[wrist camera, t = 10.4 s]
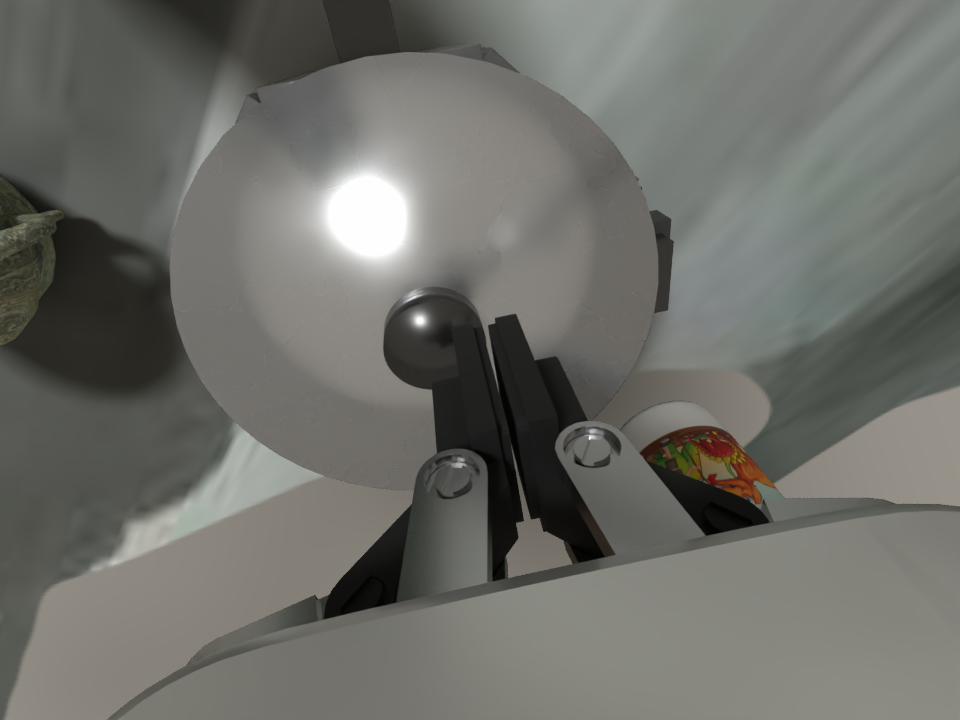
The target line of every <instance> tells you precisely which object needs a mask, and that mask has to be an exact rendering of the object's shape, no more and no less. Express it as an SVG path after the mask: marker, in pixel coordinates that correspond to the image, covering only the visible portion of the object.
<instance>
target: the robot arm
mask: <svg viewBox="0 0 960 720" xmlns="http://www.w3.org/2000/svg"><path fill="white" fill-rule="evenodd" d="M488 330H489V336H490V342H491V348H492V353H493V359H494V365H495V371H496V377H497V382H498V387H497V383H496V379H495V375H494V372H493V368H492V364H491V360H490V357H489V353H488V349H487V345H486V342H485V338H484V334H483V330H482V327H481V326H480V327H475V328H473V324H472V323H467V324H462V325H457V326H452V334H453V340H454V346H455V352H456V359H457V365H458V371H459V376H457V377H452V378H447V379H443V380H438V381H433V382H432V396H433V409H434V422H435V436H436V449H437V454H436V455H434V456H432V457H431V458H430V459H428V460H427V461H426V462H425V463H424V464H423V466H422V467H421V468H420V470H419V472H418V475H417V477H416V482H415V488H414V495H413V501H412V505H411V506H410V507H409V508H408V509H407V510H406V511H405V512H404V513H403V514H402V515H401V516H400V517H399V518H398V519H397V520H396V521H395V522H394V523H393V525H392V526H391V527H390V528H389V529H388V530H387V531H386V532H385V533H384V534H383V535H382V536H381V537H380V538H379V539H378V540H377V541H376V542H375V544H374V545H373V546H372V547H371V548H370V549H369V550H368V551H367V552H366V553H365V554H364V555H363V556H362V557H361V558H360V559H359V560H358V561H357V562H356V563H355V565H354V566H353V567H352V568H351V569H350V570H349V571H348V572H347V573H346V574H345V575H344V576H343V577H342V578H341V579H340V580H339V582H338V583H337V584H336V586H335V587H334V588H333V590H332V591H331V593H330V595H328V596H325V597H323V598H321V599H319V600H318V598H317V597H316V595H314V596H312V597H309V598H307V599H305V600H303V601H300V602H298V603H296V604H293V605H291V606H289V607H287V608H284V609H282V610H280V611H278V612H275V613H273V614H271V615H269V616H266V617H264V618H262V619H260V620H258V621H255V622H253V623H250V624H248V625H246V626H244V627H241V628H239V629H237V630H235V631H232V632H230V633H228V634H226V635H223V636H221V637H219V638H217V639H215V640H213V641H212V642H210V643H208V644H207V645H205V646H204V647H202V648H201V649H200V650H199V651H198V652H197V653H196V654H195V655H194V656H193V658H191V659H190V661H189V662H188V664H187V665H186V666H185V667H183V668H181V669H179V670H177V671H176V672H174V673H172V674H171V675H169V676H167V677H166V678H164V679H162V680H161V681H159V682H157V683H156V684H154V685H152V686H151V687H149V688H148V689H146V690H145V691H143V692H142V693H140V694H139V695H137V696H136V697H135V698H134V699H132V700H130V701H129V702H128V703H127V704H125V705H124V706H123V707H122V708H120V709H119V710H118V711H117V712H115V713H114V714H113V715H112V716H111V717H110V718H109V719H107V720H960V507H958V506H949V505H941V504H895V503H892V502H889V501H886V500H882V499H874V498H796V499H795V498H792V499H791V498H788V499H787V498H785V499H763V502H762V504H753V503H751V502H750V501H748V500H746V499H744V498H742V497H740V496H738V495H736V494H733V493H731V492H728V491H726V490H723V489H720V488H718V487H715V486H712V485H710V484H707V483H704V482H702V481H699V480H697V479H694V478H691V477H689V476H686V475H683V474H681V473H678V472H675V471H673V470H670V469H668V468H665V467H662V466H660V465H657V464H654V463H652V462H649V461H646V460H644V458H643V457H642V456H641V455H640V453H639V452H638V451H637V450H636V448H635V447H634V446H633V445H632V443H631V442H630V441H629V440H628V439H627V437H626V436H625V435H624V434H623V433H622V432H621V431H620V430H619V429H617V428H616V427H614V426H612V425H610V424H607V423H603V422H599V421H588V419H587V417H586V415H585V413H584V411H583V409H582V407H581V405H580V403H579V401H578V399H577V397H576V395H575V392H574V390H573V388H572V386H571V384H570V382H569V380H568V378H567V376H566V374H565V372H564V370H563V368H562V365H561V363H560V361H559V359H558V358H557V357H556V356H554V357H549V358H544V359H539V360H535V359H534V357H533V354H532V352H531V349H530V347H529V344H528V342H527V340H526V337H525V335H524V332H523V330H522V327H521V325H520V322H519V320H518V317H517V315H516V314H511V315H506V316H501V317H496V318H495V324H490V325H488ZM498 388H499V390H498ZM511 445H512V447H511ZM512 449H513V453H514V457H515V461H516V464H517V468H518V472H519V476H520V480H521V484H522V487H523V491H524V495H525V498H526V503H527V506H528V510H529V514H530V517H531V519H536V518H540V521H541V525H542V528H543V531H544V532H545V531H547V532H549V533H551V534H552V535H554V536H556V537H558V538H560V539H562V540H564V545H565V549H566V551H567V554H568V556H569V558H570V560H571V562H572V565H567V566H562V567H558V568H553V569H549V570H544V571H539V572H535V573H530V574H526V575H521V576H516V577H512V578H508V563H507V558H506V555H507V553H508V552H509V550H510V549H511V548H512V546H513V545H514V544H515V542H516V541H517V539H518V532H517V527H516V523H517V522H522V521H524V519H523V513H522V507H521V501H520V495H519V489H518V483H517V477H516V471H515V465H514V459H513V453H512Z"/></svg>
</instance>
